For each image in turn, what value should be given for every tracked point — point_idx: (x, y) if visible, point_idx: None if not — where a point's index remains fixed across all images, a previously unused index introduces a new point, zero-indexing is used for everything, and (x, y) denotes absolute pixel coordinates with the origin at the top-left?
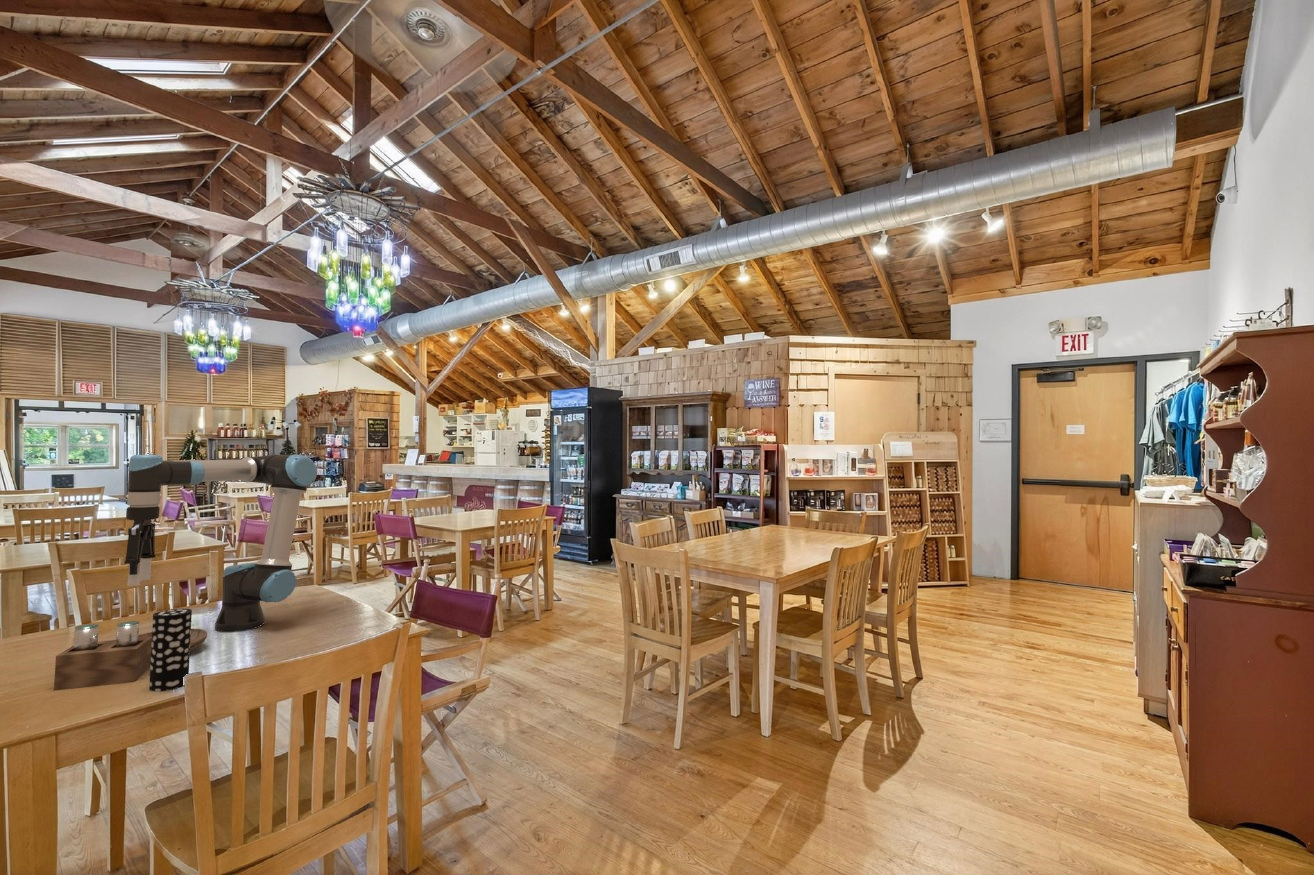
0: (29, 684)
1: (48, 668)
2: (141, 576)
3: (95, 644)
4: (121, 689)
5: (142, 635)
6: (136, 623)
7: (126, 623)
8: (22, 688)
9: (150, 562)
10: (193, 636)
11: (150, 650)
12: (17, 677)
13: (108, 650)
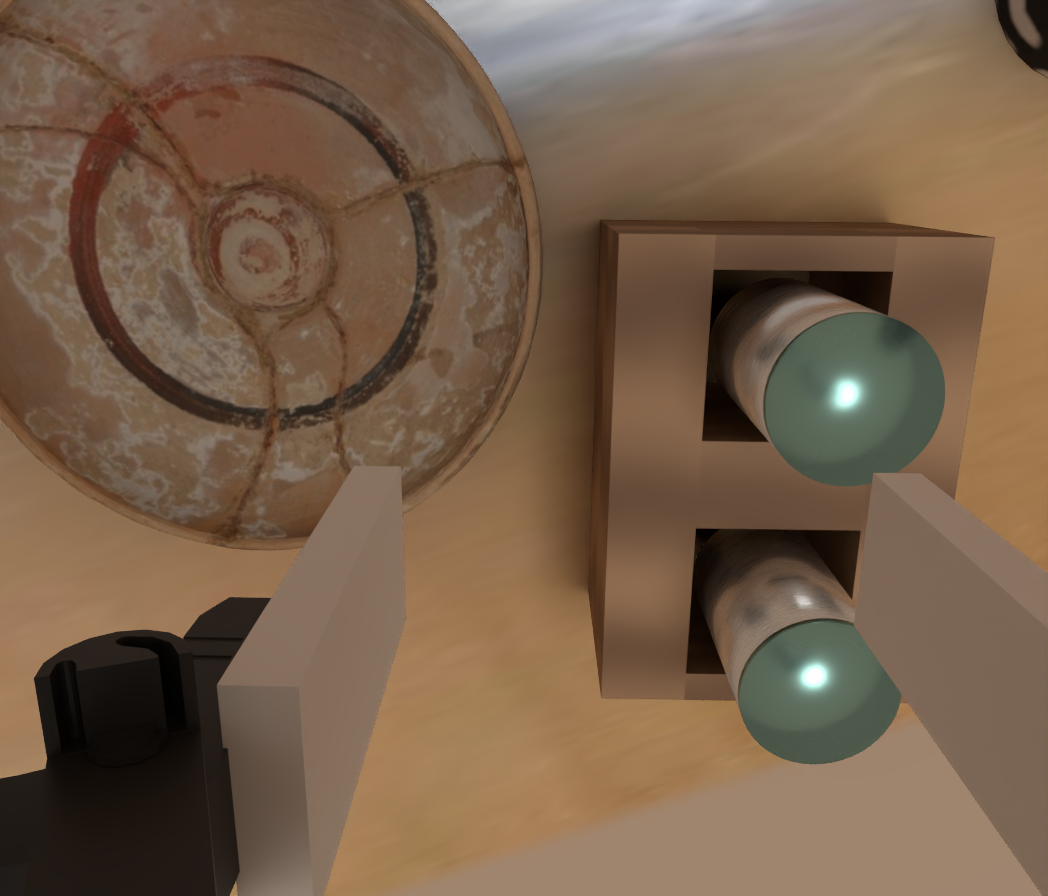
0: (674, 738)
1: (393, 760)
2: (395, 613)
3: (804, 555)
4: (1024, 250)
5: (45, 442)
6: (899, 321)
7: (869, 411)
8: (734, 742)
9: (329, 625)
10: (30, 79)
11: (630, 227)
12: (514, 831)
13: (938, 430)
